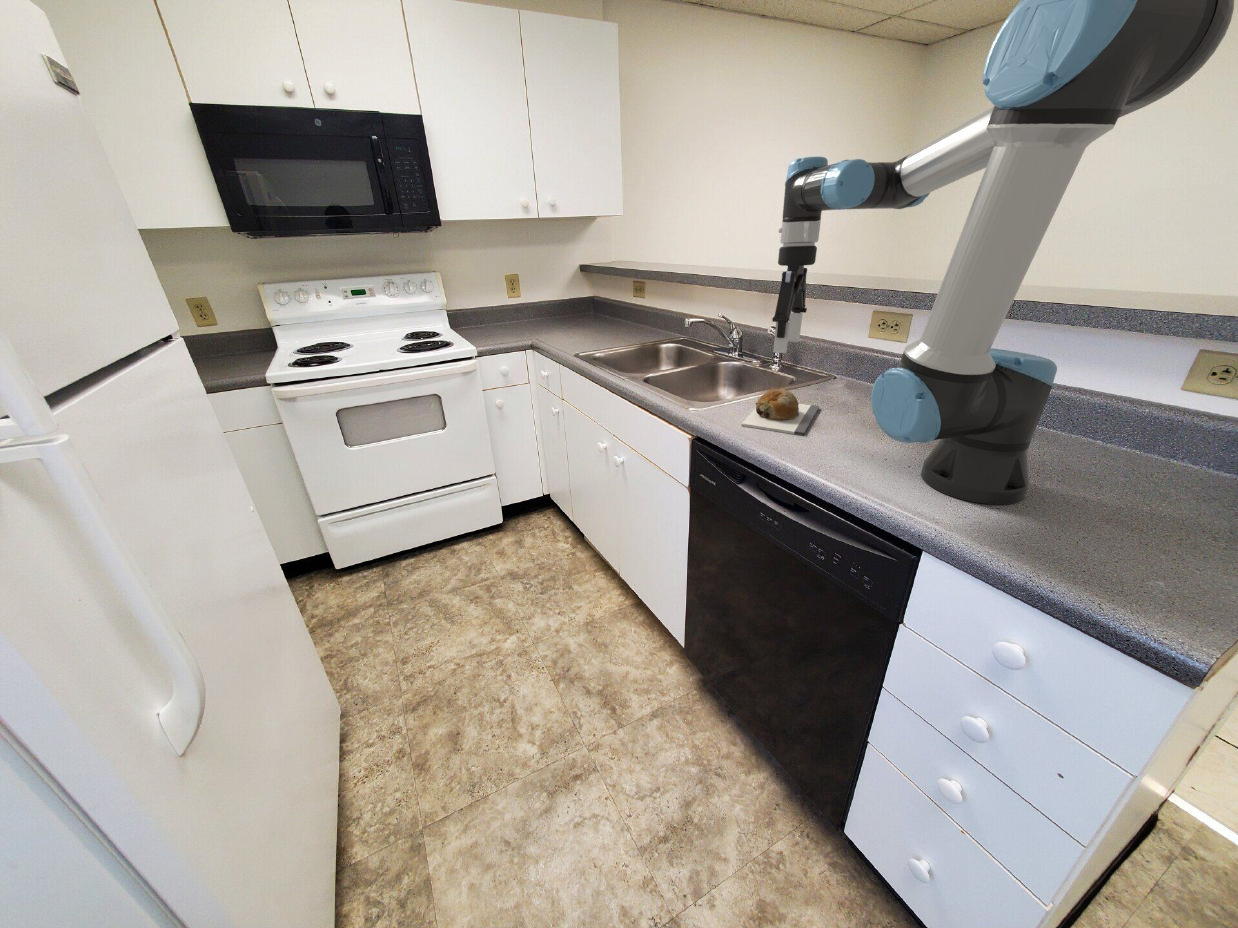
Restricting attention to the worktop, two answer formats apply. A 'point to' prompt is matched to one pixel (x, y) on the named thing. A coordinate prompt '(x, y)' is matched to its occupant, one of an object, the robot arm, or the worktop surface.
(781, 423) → the mat
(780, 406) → the bread roll
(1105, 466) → the worktop surface
